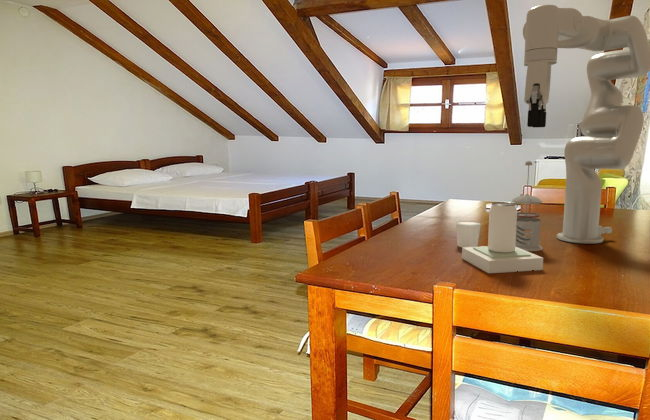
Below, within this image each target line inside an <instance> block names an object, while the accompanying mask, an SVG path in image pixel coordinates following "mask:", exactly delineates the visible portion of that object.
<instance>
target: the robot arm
mask: <svg viewBox="0 0 650 420" xmlns="http://www.w3.org/2000/svg"><path fill="white" fill-rule="evenodd" d="M522 36H523V40H524V42H525V43H524V57H523V58H524V60H523V66H524V67H526V68H527V69H526V76H525V86H524V87H525V88H524V99H523V102H524V103H525V104H526V105H528V111H527V127H528V128H545V127H546V125H547V111H546V110H547V104H548V103H549V99H550V98H549V97H550V89H551V79H552V65H555V64H558V63H557V61H558V49H579V50H580V49H581V50H585V51H586V50H587V51H589V52H590V51H591V52H601V53H598V54H595V55H593V56H591V58H590V59H588V62H587V65H586V76H587V79H588V84H589V89H590V94H591V95H590V99H589V102H588V105H587V107H586V110H585V113H584V115H583V117H582V120H581V124H580V132H581V134H582V136H577V137H574V138H571V139H570V140H568V141H567V143H565V147H564V149H563V150H564V153H563V154H564V161H565V173H566V175H565V190H564V191H565V192H564V193H565V195H564V207H563V209H564V210H563V222H562V232H559V233H557V234H556V238H557V239H558V240H560V241H563V242H568V243H573V244H585V245H586V244H588V245H589V244H590V245H591V244H594V245H595V244H601V243H603V242H604V237H603V236H602V235H603V234H611V233H613V228H612V227H611V226H605V227H603V225H599V224H600V213H601V198H602V187H603V184H602V180H601V177H600V175H598V173H597V172H596V170H599V169H600V170H622V169H625V168H626V167H628V166H629V164H630V162H631V160H632V159H633V156H634V153H635V151H636V149H637V148H636V147H637V145H638V143H639V139H640V137H641V134H642V131H643V127H644V112H643V110H642V109H641V108H640V107H638V106H637V105H633V104H632V105H631V104H629V105H628V104H623V105H622V103H623V99H624V98H623V97H624V96H623V94H622V92H621V91H620V89H619V88H618V87H617V86H616V85H615V84H614V83H613V82H612V80H621V79H631V78H639V77H643V76H646V75H647V74H648V73H649V72H650V44H649V43H650V42H649V39H648V36H647V33H646V30H645V27H644V25H643V23H642V21H641V20H640V19H639V18H638V17H637V16H635V15H626V16H622V17H616V18H610V19H605V20H604V19H601V18H598V17H594V16H590V15H583V14H582V13H581V12H580V11H579V10H578V9H576V8H573V7H558V6H557V5H554V4H542V5H537V6H534V7H532V8H529V10H528V11H527V13H526V19H525V23H524V25H523V27H522ZM624 48H625V49H624Z"/></svg>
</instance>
